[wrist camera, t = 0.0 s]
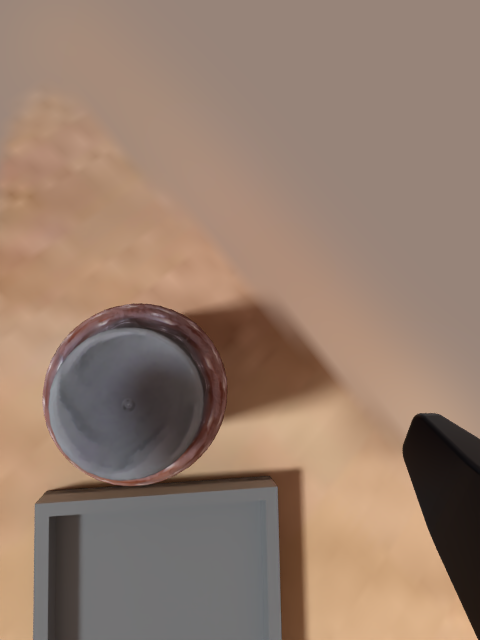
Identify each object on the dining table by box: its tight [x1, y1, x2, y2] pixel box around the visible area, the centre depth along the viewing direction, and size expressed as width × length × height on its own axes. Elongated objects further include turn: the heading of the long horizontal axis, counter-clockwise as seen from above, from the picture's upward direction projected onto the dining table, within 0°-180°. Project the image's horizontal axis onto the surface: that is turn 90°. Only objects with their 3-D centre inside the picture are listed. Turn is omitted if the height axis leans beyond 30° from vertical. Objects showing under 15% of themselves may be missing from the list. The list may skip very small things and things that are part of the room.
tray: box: [33, 476, 282, 640], centre depth 20 cm, size 11×11×2 cm
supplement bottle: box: [43, 304, 227, 486], centre depth 16 cm, size 6×6×11 cm
